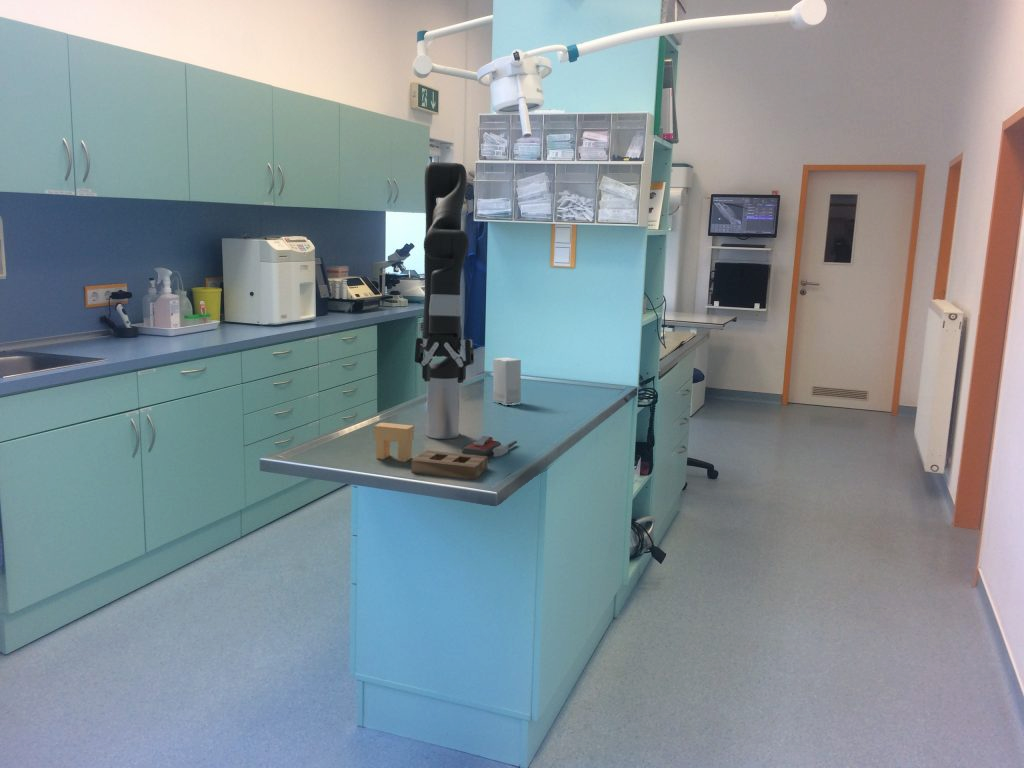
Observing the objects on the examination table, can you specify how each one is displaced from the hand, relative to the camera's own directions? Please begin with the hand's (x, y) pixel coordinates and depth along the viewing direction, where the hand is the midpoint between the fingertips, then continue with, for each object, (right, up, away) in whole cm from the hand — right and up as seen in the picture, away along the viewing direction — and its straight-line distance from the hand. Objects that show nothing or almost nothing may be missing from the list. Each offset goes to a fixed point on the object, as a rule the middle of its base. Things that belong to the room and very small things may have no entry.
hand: (443, 382), depth 194 cm
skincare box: (+14, -7, +84) cm, 86 cm away
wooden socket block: (+1, -22, +3) cm, 22 cm away
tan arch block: (-14, -19, +12) cm, 27 cm away
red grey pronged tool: (+11, -19, +21) cm, 30 cm away
